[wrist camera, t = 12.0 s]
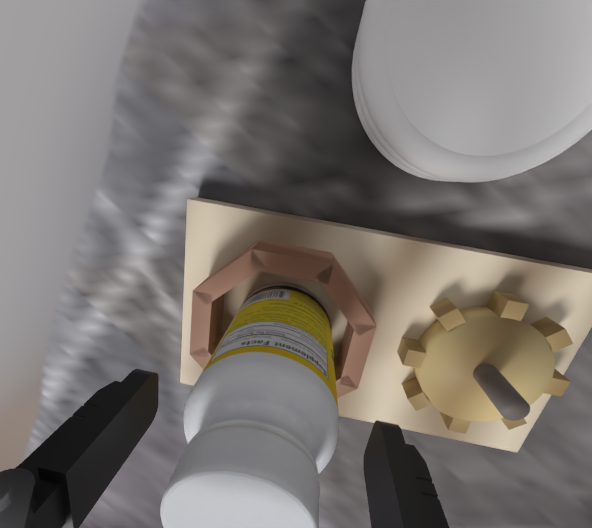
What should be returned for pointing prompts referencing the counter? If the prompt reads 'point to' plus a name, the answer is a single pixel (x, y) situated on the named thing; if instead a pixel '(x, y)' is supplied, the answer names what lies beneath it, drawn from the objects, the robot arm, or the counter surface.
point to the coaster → (473, 83)
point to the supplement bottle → (260, 419)
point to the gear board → (398, 317)
